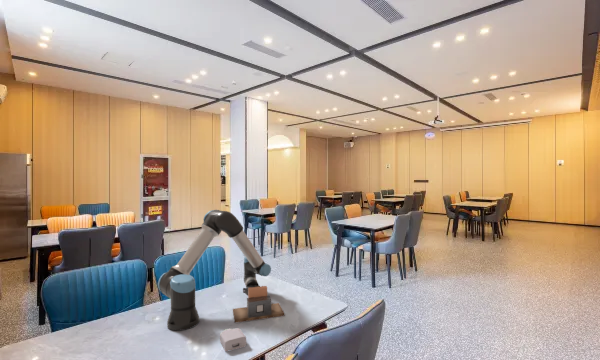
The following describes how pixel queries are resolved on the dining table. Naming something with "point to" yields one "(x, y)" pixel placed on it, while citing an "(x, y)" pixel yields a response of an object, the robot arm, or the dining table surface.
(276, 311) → the base board
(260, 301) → the socket
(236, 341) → the charger
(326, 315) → the dining table surface
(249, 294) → the orange block
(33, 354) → the dining table surface
